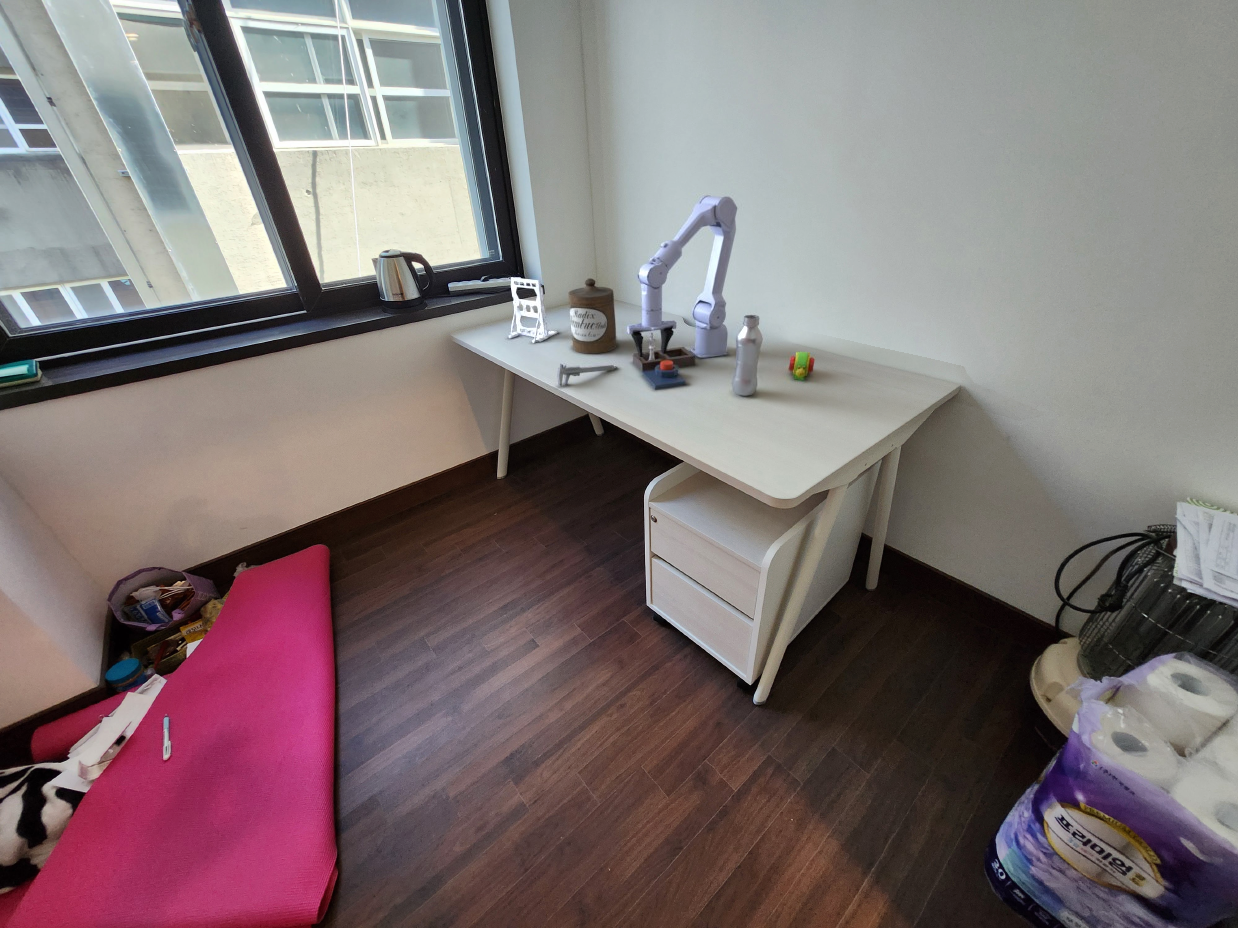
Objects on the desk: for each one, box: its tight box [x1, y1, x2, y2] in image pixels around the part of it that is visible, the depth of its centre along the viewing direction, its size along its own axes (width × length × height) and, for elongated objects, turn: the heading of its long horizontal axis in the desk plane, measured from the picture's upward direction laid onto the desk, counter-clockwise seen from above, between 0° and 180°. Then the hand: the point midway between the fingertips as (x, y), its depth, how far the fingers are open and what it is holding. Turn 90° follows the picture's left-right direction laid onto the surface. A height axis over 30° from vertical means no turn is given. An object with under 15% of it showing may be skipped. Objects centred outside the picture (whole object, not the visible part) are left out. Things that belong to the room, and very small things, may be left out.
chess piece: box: [648, 332, 656, 360], centre depth 144 cm, size 5×5×10 cm
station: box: [641, 364, 687, 390], centre depth 136 cm, size 9×11×3 cm
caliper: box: [556, 363, 618, 387], centre depth 139 cm, size 20×1×6 cm, turn 129°
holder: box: [632, 346, 696, 373], centre depth 146 cm, size 17×9×3 cm, turn 106°
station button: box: [660, 360, 673, 371], centre depth 136 cm, size 4×4×2 cm
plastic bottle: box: [731, 314, 764, 397], centre depth 121 cm, size 6×7×20 cm
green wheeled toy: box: [788, 351, 815, 381], centre depth 137 cm, size 6×20×7 cm, turn 160°
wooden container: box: [567, 277, 617, 355], centre depth 158 cm, size 15×15×22 cm
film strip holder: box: [508, 276, 558, 344], centre depth 171 cm, size 14×14×20 cm
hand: (651, 354), depth 144 cm, fingers open, 7 cm apart
